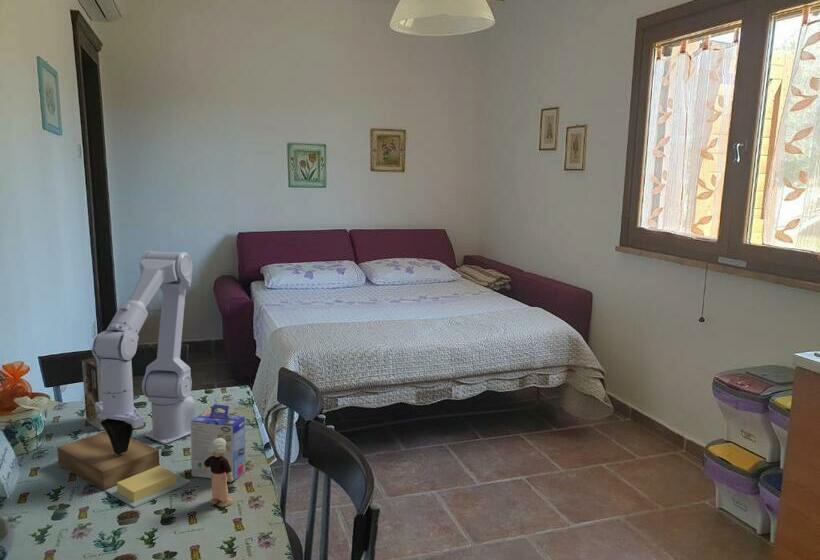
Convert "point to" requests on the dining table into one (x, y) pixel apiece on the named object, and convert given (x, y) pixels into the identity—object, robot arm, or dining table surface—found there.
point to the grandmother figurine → (219, 472)
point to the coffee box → (92, 391)
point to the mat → (113, 492)
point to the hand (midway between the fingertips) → (121, 451)
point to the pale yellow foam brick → (146, 483)
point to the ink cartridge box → (209, 430)
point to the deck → (106, 460)
